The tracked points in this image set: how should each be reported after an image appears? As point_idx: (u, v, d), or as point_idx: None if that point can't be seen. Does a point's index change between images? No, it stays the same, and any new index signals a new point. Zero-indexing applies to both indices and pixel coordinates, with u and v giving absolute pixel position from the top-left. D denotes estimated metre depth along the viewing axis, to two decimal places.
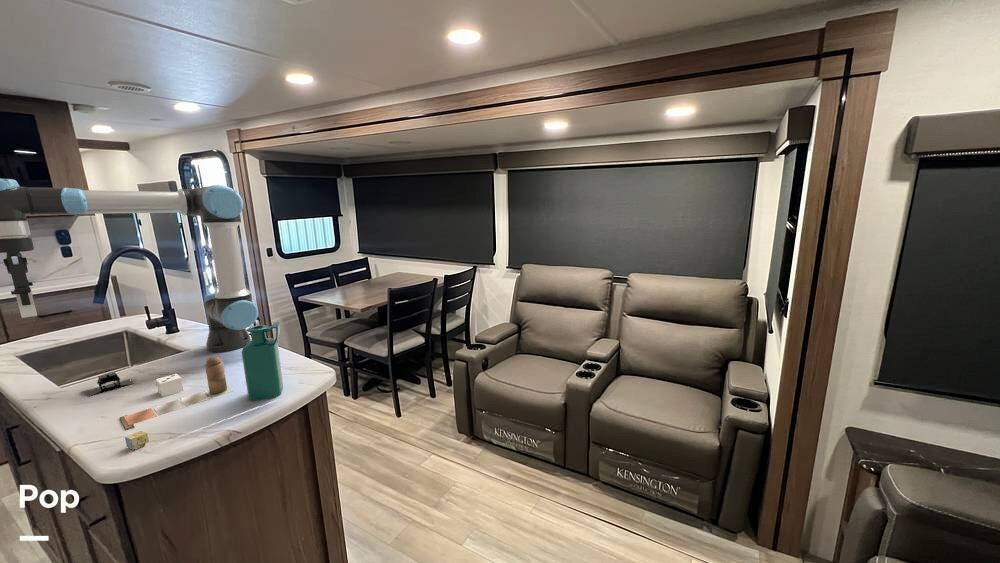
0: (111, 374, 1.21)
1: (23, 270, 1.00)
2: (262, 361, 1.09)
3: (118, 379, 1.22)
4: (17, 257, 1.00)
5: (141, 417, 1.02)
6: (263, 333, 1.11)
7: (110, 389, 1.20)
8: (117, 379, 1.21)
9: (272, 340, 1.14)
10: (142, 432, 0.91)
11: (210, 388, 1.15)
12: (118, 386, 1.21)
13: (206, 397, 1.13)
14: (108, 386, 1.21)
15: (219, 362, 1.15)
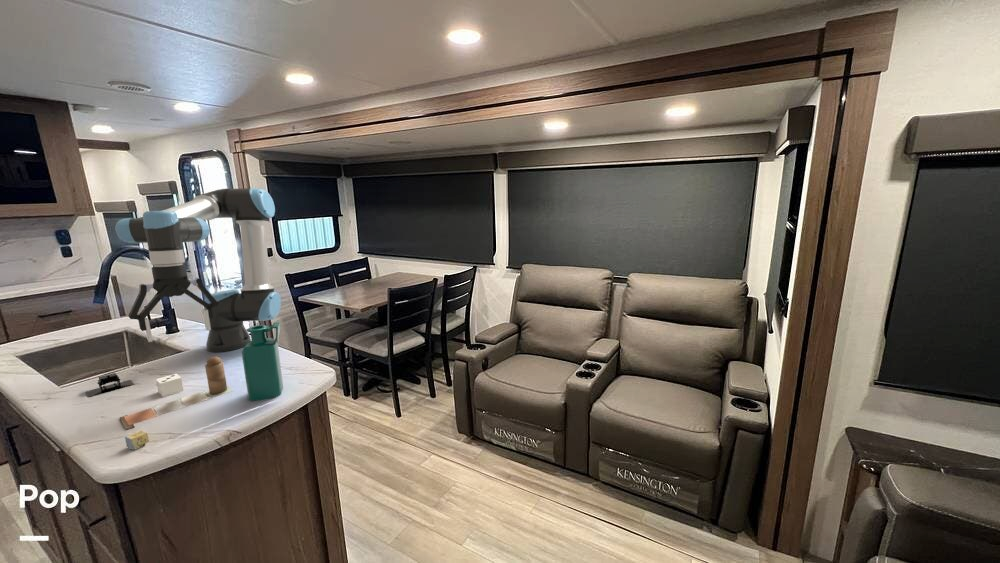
0: (111, 375, 1.21)
1: (137, 298, 1.04)
2: (262, 361, 1.09)
3: (118, 380, 1.21)
4: (140, 285, 1.05)
5: (141, 417, 1.02)
6: (263, 333, 1.11)
7: (110, 390, 1.19)
8: (117, 380, 1.21)
9: (272, 340, 1.14)
10: (142, 432, 0.91)
11: (210, 388, 1.15)
12: (118, 387, 1.21)
13: (206, 397, 1.13)
14: (108, 387, 1.20)
15: (219, 362, 1.15)
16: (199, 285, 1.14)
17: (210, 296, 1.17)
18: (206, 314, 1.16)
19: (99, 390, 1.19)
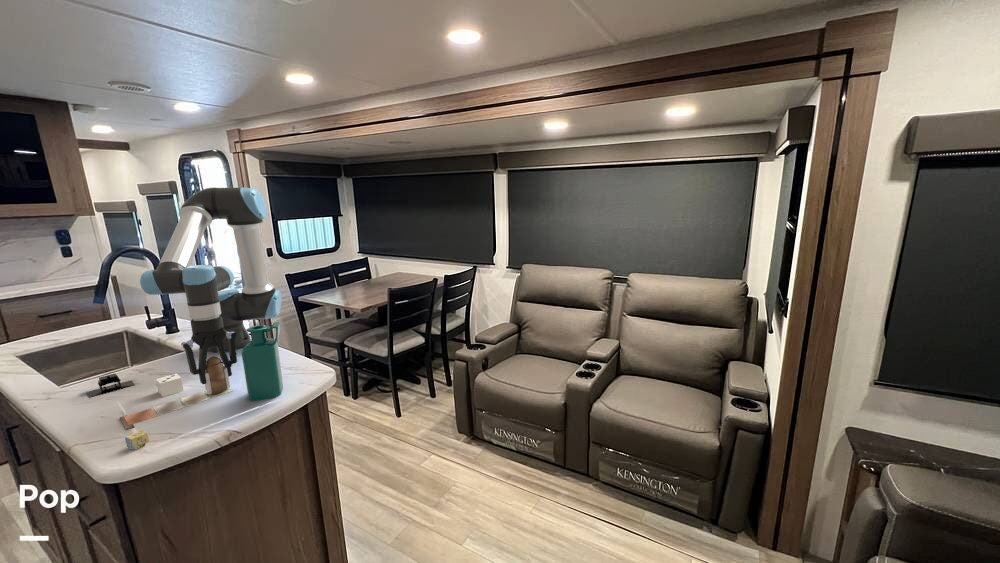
0: (112, 375, 1.20)
1: (188, 357, 1.09)
2: (261, 361, 1.09)
3: (118, 380, 1.21)
4: (183, 345, 1.08)
5: (141, 417, 1.02)
6: (263, 333, 1.11)
7: (110, 390, 1.19)
8: (117, 380, 1.20)
9: (272, 340, 1.14)
10: (142, 432, 0.91)
11: None
12: (119, 388, 1.20)
13: (206, 397, 1.13)
14: (109, 387, 1.20)
15: (219, 362, 1.15)
16: (231, 339, 1.17)
17: (234, 352, 1.18)
18: (225, 372, 1.17)
19: (99, 391, 1.18)
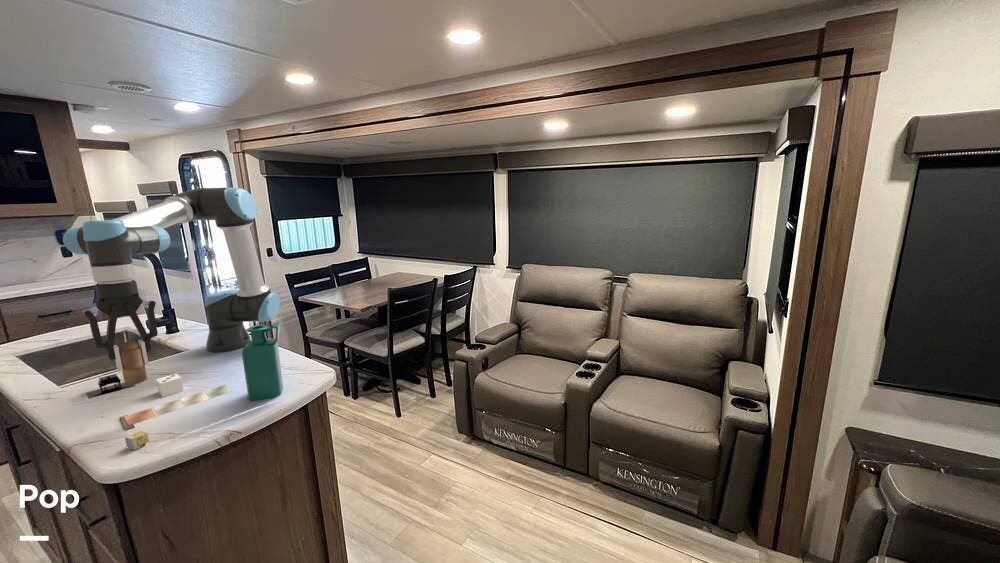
0: (112, 376, 1.20)
1: (91, 326, 0.93)
2: (261, 361, 1.09)
3: (119, 381, 1.20)
4: (84, 313, 0.92)
5: (141, 417, 1.02)
6: (263, 333, 1.11)
7: (110, 391, 1.18)
8: (118, 381, 1.20)
9: (272, 340, 1.14)
10: (142, 432, 0.91)
11: (125, 378, 0.99)
12: (119, 388, 1.20)
13: (206, 397, 1.13)
14: (109, 388, 1.19)
15: (136, 347, 0.99)
16: (149, 308, 1.01)
17: (153, 324, 1.02)
18: (142, 347, 1.01)
19: (99, 391, 1.18)
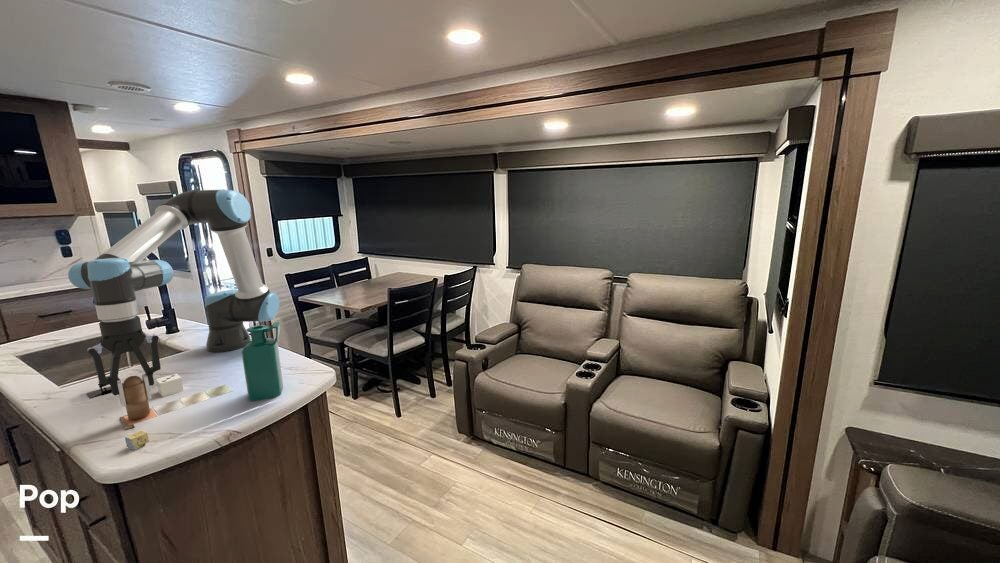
0: None
1: (95, 364, 0.94)
2: (261, 361, 1.09)
3: None
4: (88, 351, 0.93)
5: None
6: (263, 333, 1.11)
7: (111, 391, 1.18)
8: None
9: (272, 340, 1.14)
10: (142, 432, 0.91)
11: (128, 412, 1.00)
12: None
13: (206, 397, 1.13)
14: (109, 388, 1.19)
15: (139, 382, 1.01)
16: (152, 343, 1.02)
17: (156, 358, 1.03)
18: (145, 381, 1.02)
19: (99, 392, 1.18)
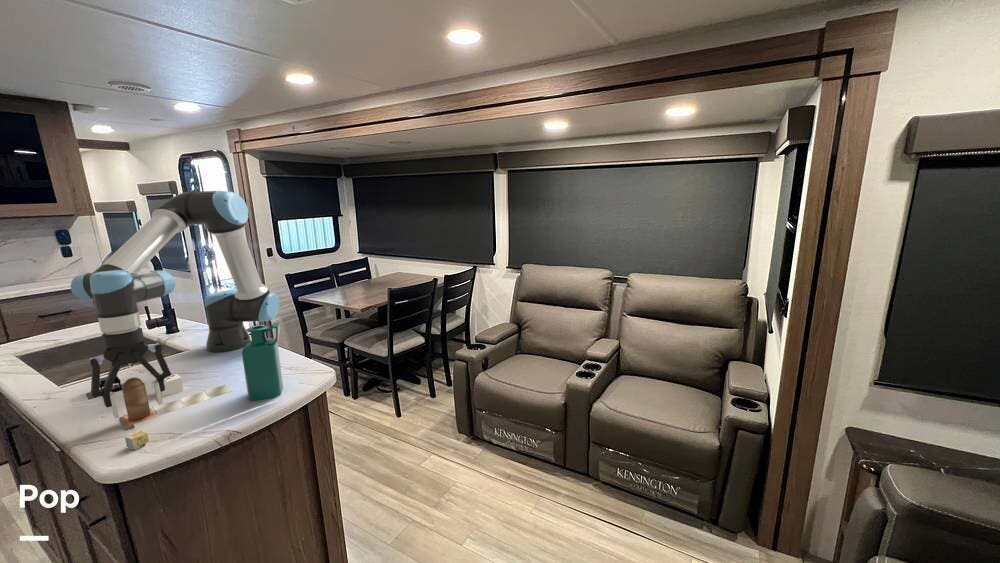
0: None
1: (92, 374, 0.94)
2: (261, 361, 1.09)
3: (119, 382, 1.20)
4: (89, 360, 0.94)
5: None
6: (263, 333, 1.11)
7: None
8: (118, 382, 1.20)
9: (272, 340, 1.14)
10: (142, 432, 0.91)
11: (128, 414, 1.00)
12: (119, 389, 1.19)
13: (206, 397, 1.13)
14: None
15: (139, 384, 1.01)
16: (157, 352, 1.03)
17: (165, 365, 1.05)
18: (157, 387, 1.04)
19: None
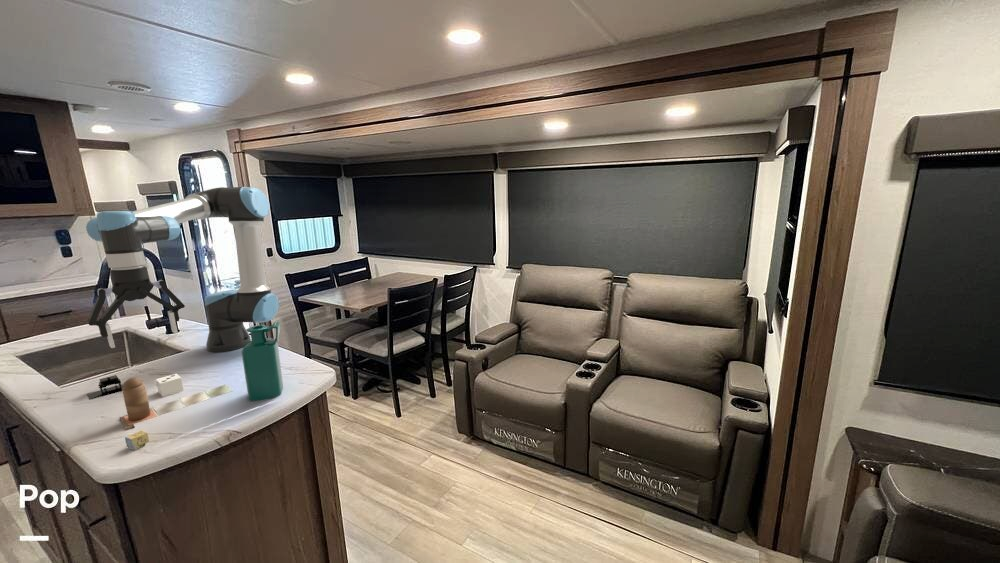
0: (112, 377, 1.19)
1: (96, 304, 1.00)
2: (261, 361, 1.09)
3: (119, 382, 1.19)
4: (98, 290, 1.00)
5: None
6: (263, 333, 1.11)
7: (111, 392, 1.17)
8: (118, 382, 1.19)
9: (272, 340, 1.14)
10: (142, 432, 0.91)
11: (128, 414, 1.00)
12: (119, 390, 1.19)
13: (206, 397, 1.13)
14: (109, 389, 1.18)
15: (139, 384, 1.01)
16: (163, 287, 1.10)
17: (175, 298, 1.13)
18: (172, 317, 1.12)
19: (100, 392, 1.17)
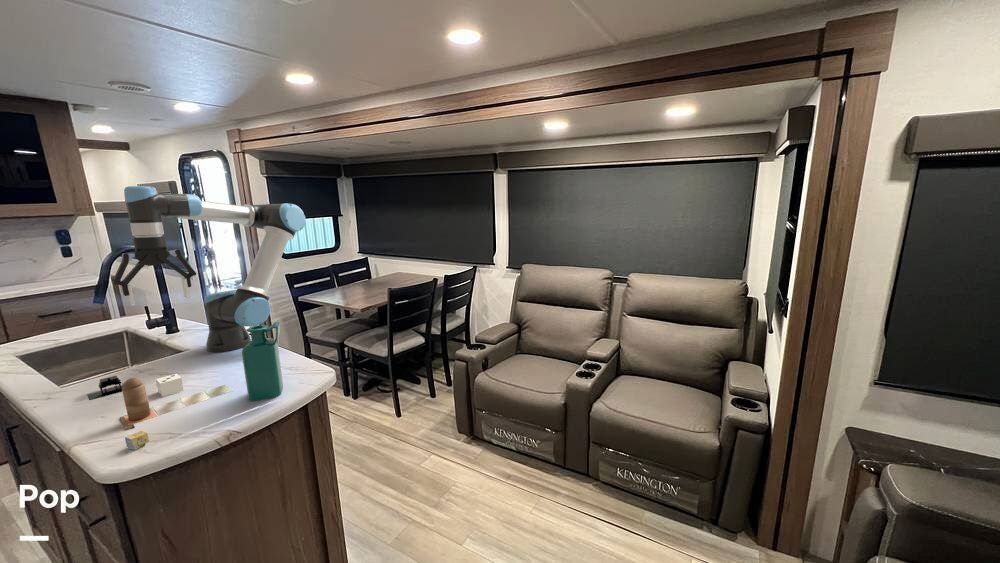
0: (112, 377, 1.19)
1: (120, 266, 1.15)
2: (262, 361, 1.09)
3: (119, 383, 1.19)
4: (123, 254, 1.15)
5: None
6: (263, 333, 1.11)
7: (111, 393, 1.17)
8: (118, 383, 1.19)
9: (272, 340, 1.14)
10: (142, 432, 0.91)
11: (128, 414, 1.00)
12: (119, 390, 1.19)
13: (206, 397, 1.13)
14: (109, 390, 1.18)
15: (139, 384, 1.01)
16: (178, 256, 1.25)
17: (188, 266, 1.27)
18: (185, 283, 1.27)
19: (100, 393, 1.17)
